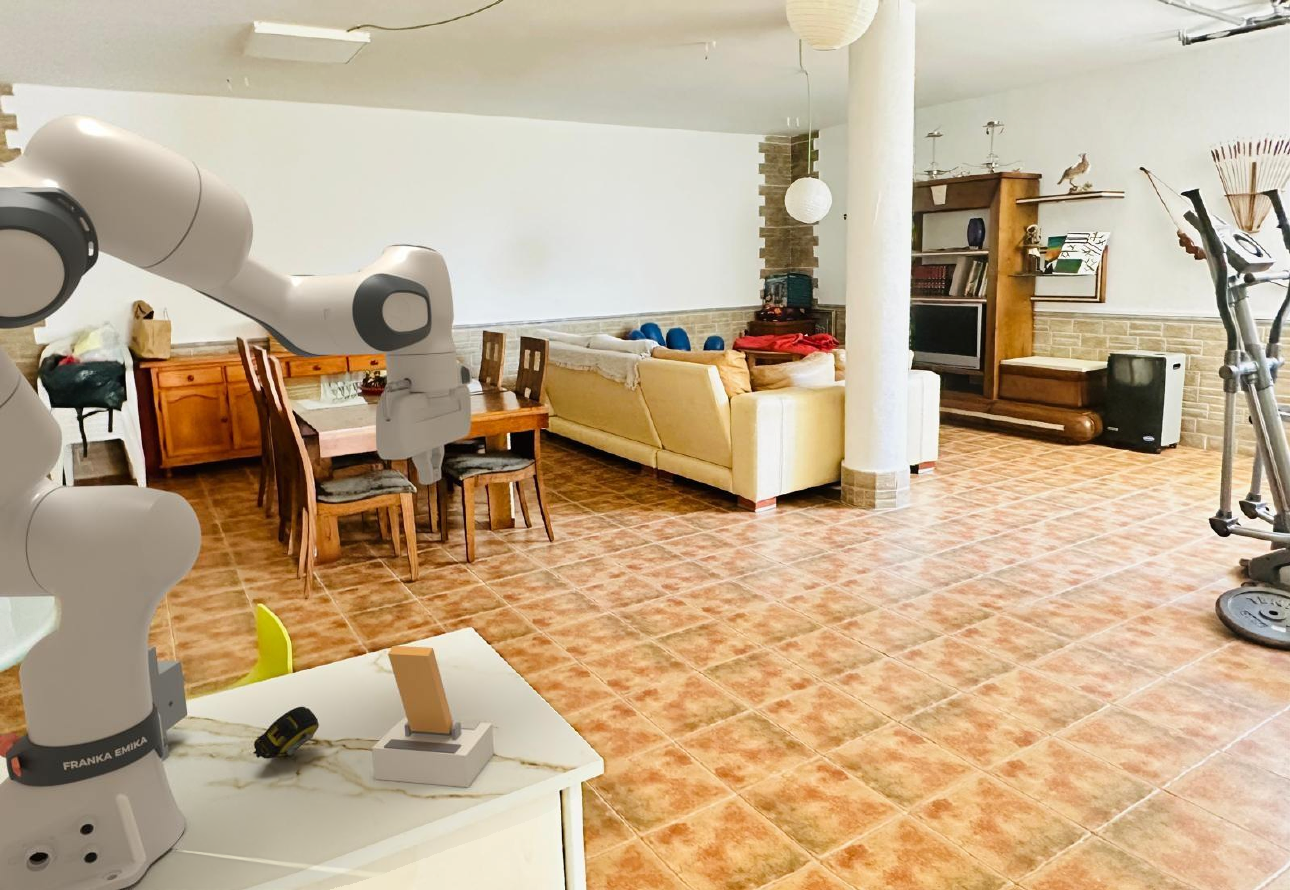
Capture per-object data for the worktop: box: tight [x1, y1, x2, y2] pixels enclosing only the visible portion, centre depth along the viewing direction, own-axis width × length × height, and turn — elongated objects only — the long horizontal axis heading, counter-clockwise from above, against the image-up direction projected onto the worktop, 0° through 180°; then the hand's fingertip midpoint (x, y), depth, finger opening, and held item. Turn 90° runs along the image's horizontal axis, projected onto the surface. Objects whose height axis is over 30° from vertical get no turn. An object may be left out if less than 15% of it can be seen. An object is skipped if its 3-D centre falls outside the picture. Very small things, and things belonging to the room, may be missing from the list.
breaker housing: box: [371, 716, 495, 788], centre depth 107 cm, size 8×12×6 cm, turn 78°
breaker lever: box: [387, 645, 453, 736], centre depth 104 cm, size 1×5×13 cm, turn 78°
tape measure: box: [253, 706, 320, 760], centre depth 109 cm, size 7×7×4 cm
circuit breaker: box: [148, 646, 188, 762], centre depth 110 cm, size 8×14×15 cm, turn 174°
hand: (430, 482), depth 114 cm, fingers closed
